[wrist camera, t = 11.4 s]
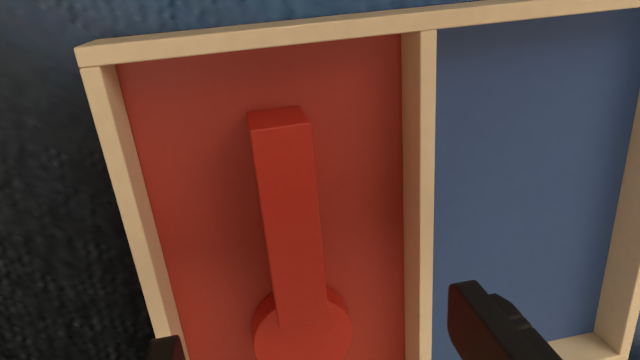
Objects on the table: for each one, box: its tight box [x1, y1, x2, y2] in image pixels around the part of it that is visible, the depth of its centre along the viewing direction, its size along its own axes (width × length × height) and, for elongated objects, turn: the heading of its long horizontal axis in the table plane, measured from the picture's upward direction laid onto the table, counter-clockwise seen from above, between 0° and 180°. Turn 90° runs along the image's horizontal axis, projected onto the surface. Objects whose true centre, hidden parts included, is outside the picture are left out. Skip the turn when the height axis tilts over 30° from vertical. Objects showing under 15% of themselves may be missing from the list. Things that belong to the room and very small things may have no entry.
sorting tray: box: [74, 0, 640, 360], centre depth 20 cm, size 18×22×3 cm
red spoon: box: [246, 106, 353, 360], centre depth 18 cm, size 12×4×2 cm, turn 5°
